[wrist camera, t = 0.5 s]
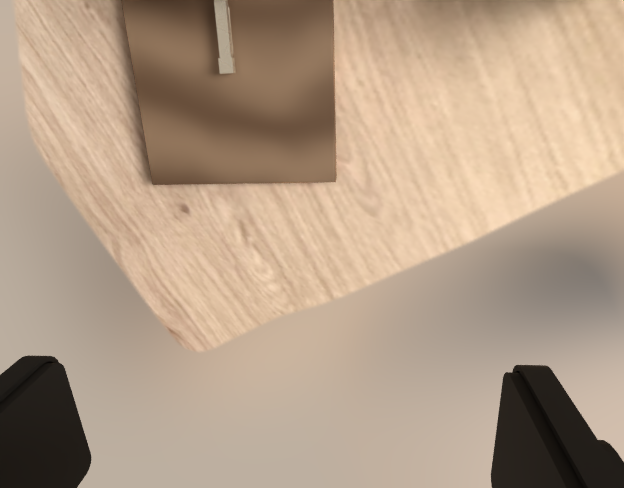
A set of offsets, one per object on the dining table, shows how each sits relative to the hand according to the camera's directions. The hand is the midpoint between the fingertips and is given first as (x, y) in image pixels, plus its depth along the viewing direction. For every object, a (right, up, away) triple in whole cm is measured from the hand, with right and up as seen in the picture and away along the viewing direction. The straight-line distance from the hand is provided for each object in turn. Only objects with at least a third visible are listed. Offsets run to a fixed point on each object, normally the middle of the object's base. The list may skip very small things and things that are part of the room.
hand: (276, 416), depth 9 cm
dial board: (-5, +21, +22) cm, 31 cm away
